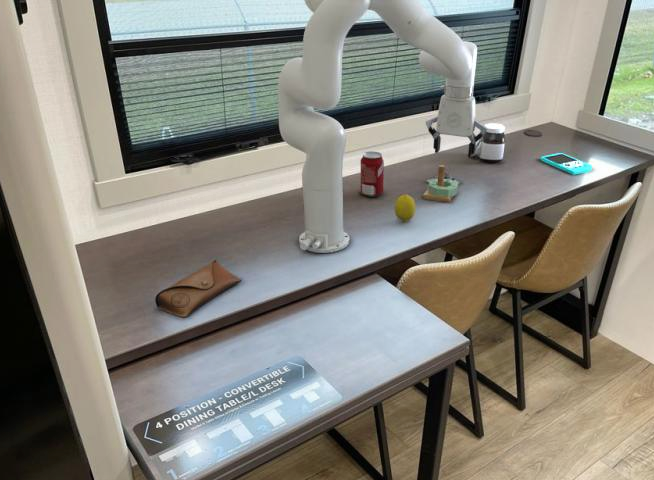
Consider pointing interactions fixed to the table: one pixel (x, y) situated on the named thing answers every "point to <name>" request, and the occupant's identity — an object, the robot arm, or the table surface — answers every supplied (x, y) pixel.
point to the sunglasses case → (195, 290)
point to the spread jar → (492, 143)
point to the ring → (443, 188)
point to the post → (439, 183)
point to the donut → (444, 178)
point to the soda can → (372, 174)
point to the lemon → (405, 207)
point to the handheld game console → (567, 163)
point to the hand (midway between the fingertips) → (453, 153)
